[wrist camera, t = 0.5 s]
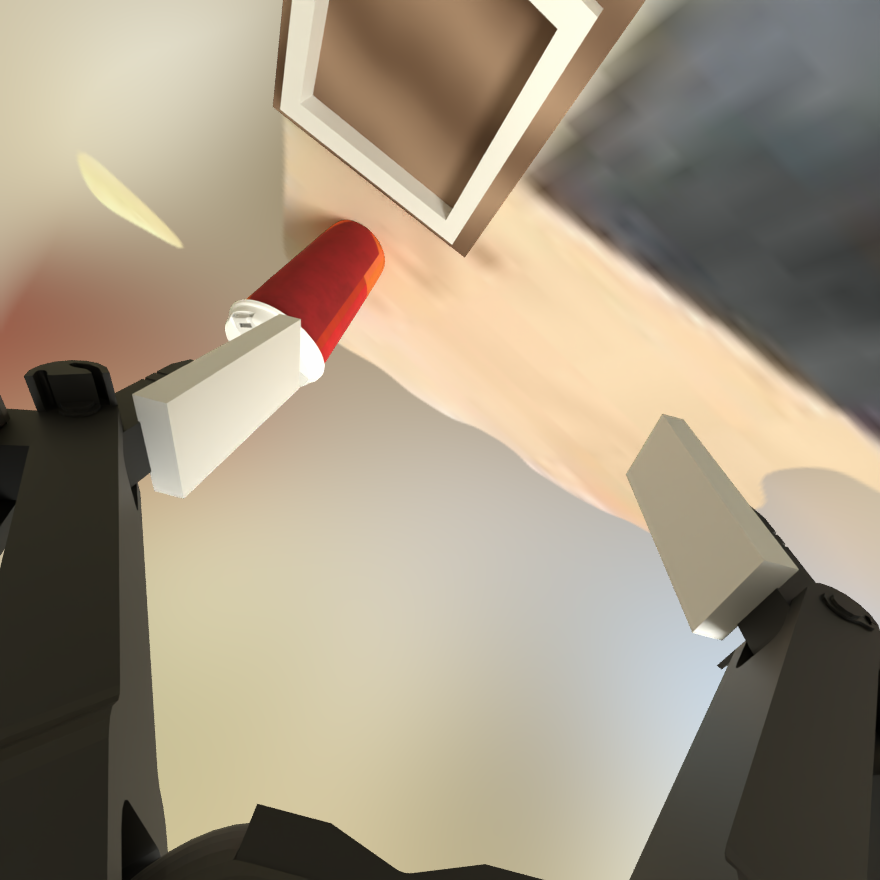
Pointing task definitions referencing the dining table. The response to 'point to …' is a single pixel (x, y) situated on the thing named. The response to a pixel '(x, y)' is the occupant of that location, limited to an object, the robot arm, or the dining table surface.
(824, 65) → the dining table surface
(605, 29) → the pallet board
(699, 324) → the dining table surface
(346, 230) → the paper cup
